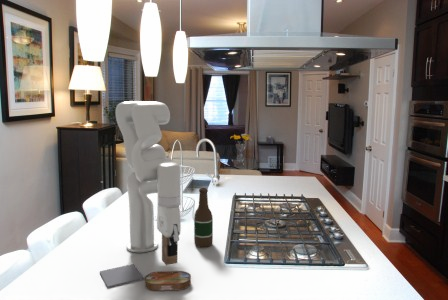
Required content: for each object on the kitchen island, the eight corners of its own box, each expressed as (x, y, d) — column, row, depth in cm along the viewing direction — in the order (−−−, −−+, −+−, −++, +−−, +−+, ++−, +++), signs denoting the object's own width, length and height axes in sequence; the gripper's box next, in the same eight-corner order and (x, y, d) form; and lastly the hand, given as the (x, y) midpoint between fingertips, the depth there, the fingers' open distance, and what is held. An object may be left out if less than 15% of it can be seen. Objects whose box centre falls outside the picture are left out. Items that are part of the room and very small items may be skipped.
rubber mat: (99, 272, 127) (99, 271, 127) (133, 265, 133) (133, 263, 133) (107, 288, 117) (107, 286, 117) (144, 279, 123) (144, 277, 123)
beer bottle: (192, 247, 150) (191, 190, 146) (196, 240, 157) (196, 186, 154) (210, 248, 148) (211, 191, 145) (214, 241, 156) (214, 186, 153)
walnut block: (161, 260, 124) (161, 229, 122) (172, 258, 126) (173, 227, 124) (166, 265, 121) (166, 233, 119) (177, 262, 123) (177, 231, 121)
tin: (191, 270, 123) (190, 281, 115) (191, 279, 124) (190, 290, 115) (146, 271, 123) (142, 281, 114) (146, 280, 123) (142, 291, 115)
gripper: (149, 195, 125) (150, 246, 128) (167, 208, 111) (168, 265, 114) (170, 193, 129) (170, 242, 132) (190, 205, 115) (190, 260, 118)
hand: (169, 252), depth 123 cm, fingers closed on walnut block, 4 cm apart
